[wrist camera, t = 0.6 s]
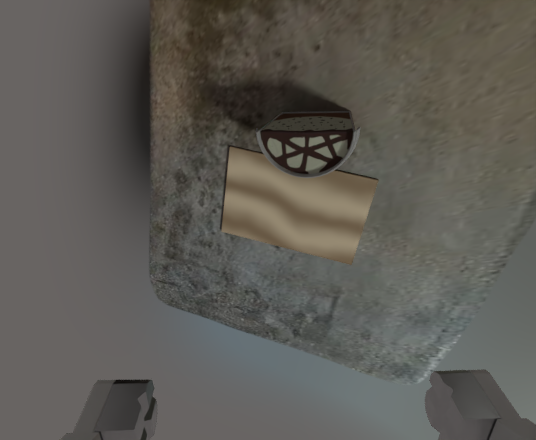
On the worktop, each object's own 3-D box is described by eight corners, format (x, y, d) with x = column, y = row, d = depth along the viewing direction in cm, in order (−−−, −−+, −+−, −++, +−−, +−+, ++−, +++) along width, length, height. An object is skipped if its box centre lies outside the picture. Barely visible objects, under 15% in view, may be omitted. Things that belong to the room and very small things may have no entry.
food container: (274, 154, 57) (256, 181, 49) (271, 112, 54) (251, 132, 46) (360, 155, 54) (357, 183, 46) (362, 110, 51) (359, 132, 43)
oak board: (230, 146, 58) (229, 146, 58) (378, 179, 55) (378, 180, 55) (222, 230, 66) (221, 231, 65) (351, 263, 63) (351, 264, 63)
